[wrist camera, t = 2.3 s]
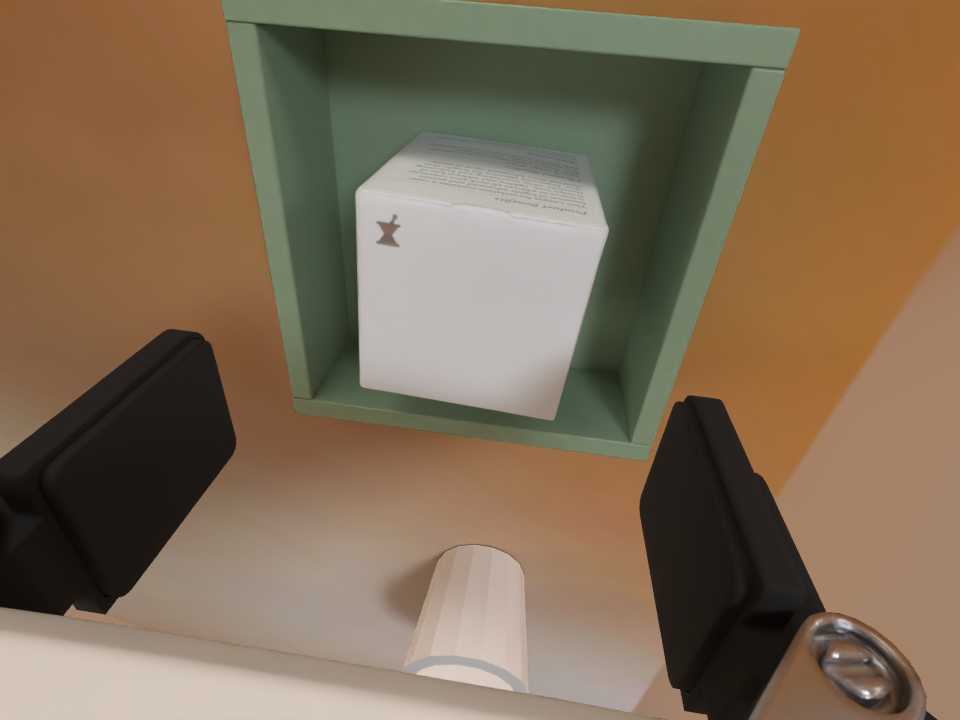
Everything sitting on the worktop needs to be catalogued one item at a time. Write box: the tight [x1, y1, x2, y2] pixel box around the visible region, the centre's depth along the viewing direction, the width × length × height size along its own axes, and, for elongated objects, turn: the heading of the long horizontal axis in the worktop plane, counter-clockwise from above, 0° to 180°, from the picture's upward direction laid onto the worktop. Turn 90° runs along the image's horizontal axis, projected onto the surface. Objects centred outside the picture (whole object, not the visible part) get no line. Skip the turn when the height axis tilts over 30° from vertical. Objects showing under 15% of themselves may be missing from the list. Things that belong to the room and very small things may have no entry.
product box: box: [355, 131, 609, 421], centre depth 16 cm, size 6×6×7 cm
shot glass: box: [402, 545, 529, 694], centre depth 30 cm, size 7×7×7 cm
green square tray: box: [221, 0, 800, 461], centre depth 18 cm, size 14×14×5 cm
